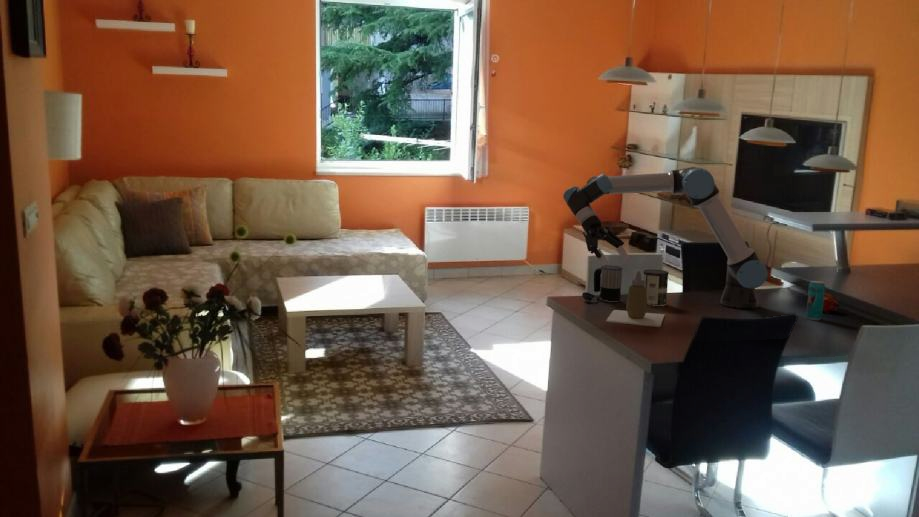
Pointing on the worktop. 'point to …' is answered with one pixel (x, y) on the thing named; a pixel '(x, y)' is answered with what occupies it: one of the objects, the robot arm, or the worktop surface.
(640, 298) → the squeeze bottle
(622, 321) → the mat
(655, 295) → the coffee can
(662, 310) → the worktop surface
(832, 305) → the dragon fruit
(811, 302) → the beverage can
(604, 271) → the milk frother
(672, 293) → the worktop surface
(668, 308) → the worktop surface
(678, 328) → the worktop surface
